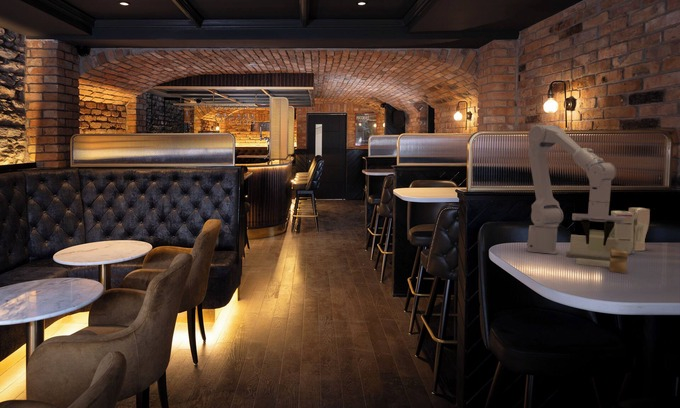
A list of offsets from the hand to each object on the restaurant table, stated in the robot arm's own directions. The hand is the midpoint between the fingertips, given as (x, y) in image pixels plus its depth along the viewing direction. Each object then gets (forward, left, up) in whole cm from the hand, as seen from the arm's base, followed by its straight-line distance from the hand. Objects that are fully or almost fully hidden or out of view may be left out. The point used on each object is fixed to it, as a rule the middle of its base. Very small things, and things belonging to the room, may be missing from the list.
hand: (595, 244), depth 159 cm
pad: (0, 0, -6) cm, 6 cm away
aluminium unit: (0, +9, -6) cm, 11 cm away
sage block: (0, 0, -2) cm, 2 cm away
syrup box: (+9, +24, -6) cm, 26 cm away
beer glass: (+15, +33, -6) cm, 37 cm away
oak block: (+6, -7, -6) cm, 11 cm away
